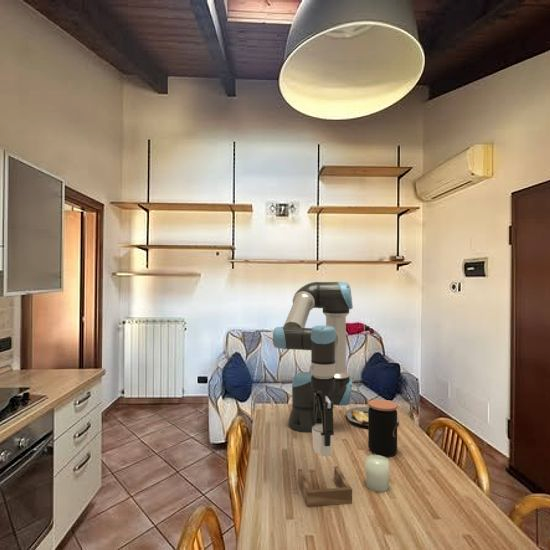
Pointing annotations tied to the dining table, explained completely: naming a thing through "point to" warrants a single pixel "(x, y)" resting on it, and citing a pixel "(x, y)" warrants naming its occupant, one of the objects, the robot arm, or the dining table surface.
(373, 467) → the cream rounded cylinder
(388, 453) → the coffee jar
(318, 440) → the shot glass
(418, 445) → the dining table surface
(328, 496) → the bay
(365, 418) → the food plate
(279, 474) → the dining table surface
